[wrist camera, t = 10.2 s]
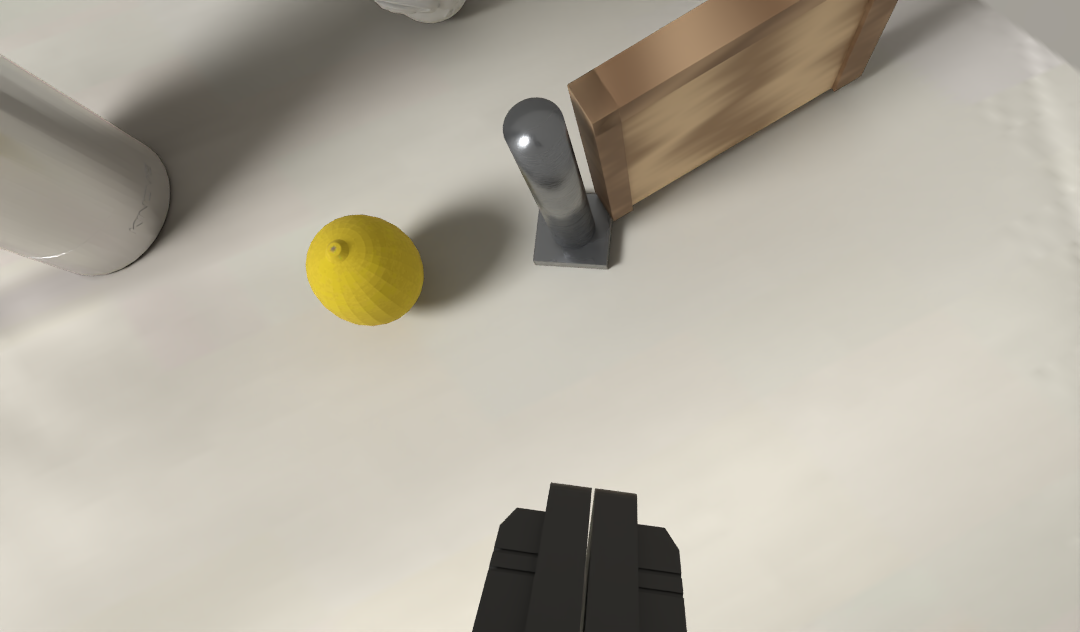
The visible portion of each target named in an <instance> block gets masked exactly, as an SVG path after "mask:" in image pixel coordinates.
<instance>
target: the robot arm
mask: <svg viewBox="0 0 1080 632" xmlns="http://www.w3.org/2000/svg"><path fill="white" fill-rule="evenodd" d="M169 200H170V186H169V179H168V175H167V172H166V169H165V167H164V165H163V163H162V162H161V160H160V158H159V157H158V155H156V154H155V153H154V152H153V151H152V150H151V149H150V148H149V147H148V146H146V145H145V144H143V143H141V142H140V141H138V140H137V139H135V138H133V137H132V136H130V135H129V134H127V133H125V132H124V131H122V130H121V129H119V128H117V127H116V126H114V125H113V124H111V123H109V122H108V121H106V120H105V119H103V118H102V117H100V116H99V115H97V114H96V113H94V112H92V111H91V110H89V109H88V108H86V107H84V106H83V105H81V104H80V103H78V102H76V101H75V100H73V99H72V98H70V97H68V96H67V95H65V94H64V93H62V92H60V91H59V90H57V89H55V88H54V87H52V86H51V85H49V84H47V83H46V82H44V81H43V80H41V79H39V78H38V77H36V76H35V75H33V74H31V73H30V72H28V71H27V70H25V69H23V68H22V67H20V66H19V65H17V64H15V63H14V62H12V61H11V60H9V59H7V58H6V57H4V56H3V55H1V54H0V248H1V249H4V250H7V251H10V252H13V253H16V254H18V255H21V256H24V257H27V258H30V259H33V260H36V261H39V262H42V263H45V264H48V265H51V266H54V267H57V268H61V269H64V270H67V271H70V272H73V273H76V274H79V275H87V276H97V275H104V274H109V273H112V272H114V271H117V270H120V269H122V268H124V267H125V266H127V265H129V264H130V263H132V262H134V261H135V260H136V259H137V258H138V257H139V256H141V255H142V254H143V253H144V252H145V251H146V250H147V249H148V248H149V246H150V245H151V244H152V243H153V241H154V240H155V239H156V237H157V235H158V234H159V232H160V230H161V228H162V226H163V224H164V221H165V218H166V215H167V212H168V208H169ZM591 491H592V488H588V487H580V486H573V485H565V484H558V483H551V484H550V490H549V495H548V501H547V507H546V512H544V511H537V510H530V509H523V508H516V509H515V510H514V511H513V512H512V513H511V514H510V515H509V516H508V517H507V518H506V519H505V521H504V522H503V523H502V524H501V525H500V527H499V531H498V535H497V538H496V542H495V546H494V552H493V554H492V558H491V561H490V565H489V570H488V573H487V577H486V581H485V584H484V588H483V592H482V596H481V600H480V604H479V607H478V611H477V615H476V619H475V623H474V627H473V630H472V632H687V628H686V618H685V607H684V598H683V586H682V578H681V564H680V554H679V549H678V547H677V546H676V544H675V543H674V541H673V540H672V538H671V537H670V535H669V534H668V532H667V531H666V529H665V528H662V527H655V526H647V525H640V524H637V494H634V493H626V492H619V491H611V490H604V489H596V488H595V492H594V500H593V507H592V515H591V523H590V531H589V538H588V527H589V515H590V503H591ZM587 539H588V546H587ZM586 551H587V554H586Z"/></svg>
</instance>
